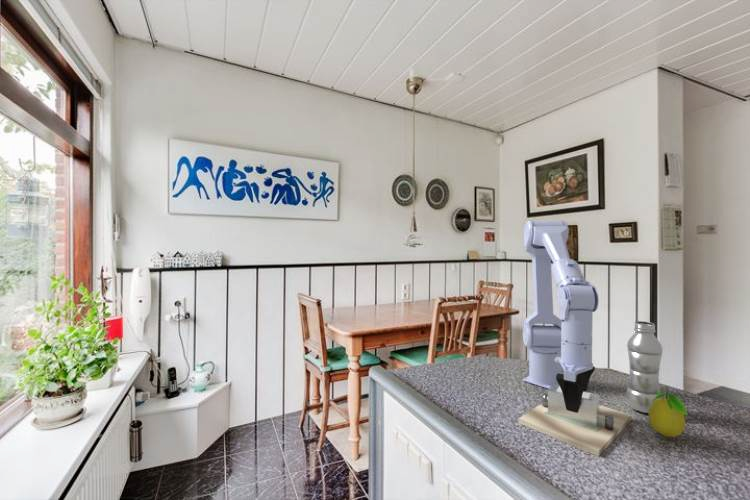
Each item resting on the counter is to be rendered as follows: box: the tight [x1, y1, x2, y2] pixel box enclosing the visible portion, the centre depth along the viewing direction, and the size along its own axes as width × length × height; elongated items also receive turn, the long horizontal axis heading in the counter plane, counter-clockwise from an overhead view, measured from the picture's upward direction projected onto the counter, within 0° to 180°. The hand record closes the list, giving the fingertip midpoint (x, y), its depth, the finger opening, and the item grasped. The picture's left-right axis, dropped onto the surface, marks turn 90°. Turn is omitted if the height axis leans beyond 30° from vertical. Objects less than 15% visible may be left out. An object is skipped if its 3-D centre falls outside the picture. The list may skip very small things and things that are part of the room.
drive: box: [547, 384, 600, 427], centre depth 75 cm, size 4×9×5 cm, turn 51°
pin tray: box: [518, 393, 633, 457], centre depth 74 cm, size 20×15×4 cm
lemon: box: [648, 386, 689, 438], centre depth 68 cm, size 7×6×10 cm
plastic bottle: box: [625, 320, 663, 414], centre depth 79 cm, size 6×7×20 cm
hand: (575, 404), depth 74 cm, fingers open, 7 cm apart
